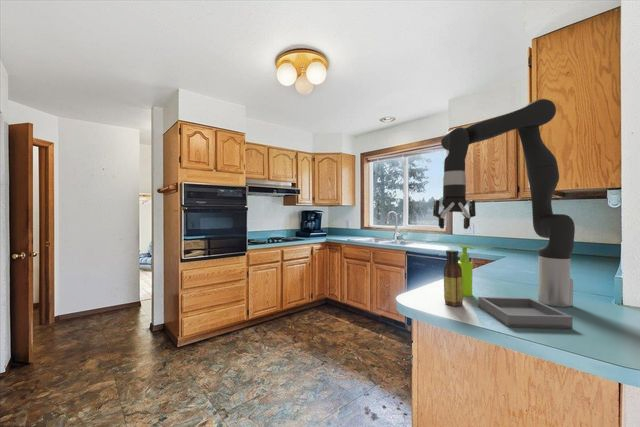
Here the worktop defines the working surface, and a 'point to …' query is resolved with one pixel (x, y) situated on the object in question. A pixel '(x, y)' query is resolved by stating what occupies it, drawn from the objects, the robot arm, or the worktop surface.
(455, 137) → the robot arm
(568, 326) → the charcoal tray
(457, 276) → the sauce bottle
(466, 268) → the soap dispenser
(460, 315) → the worktop surface
